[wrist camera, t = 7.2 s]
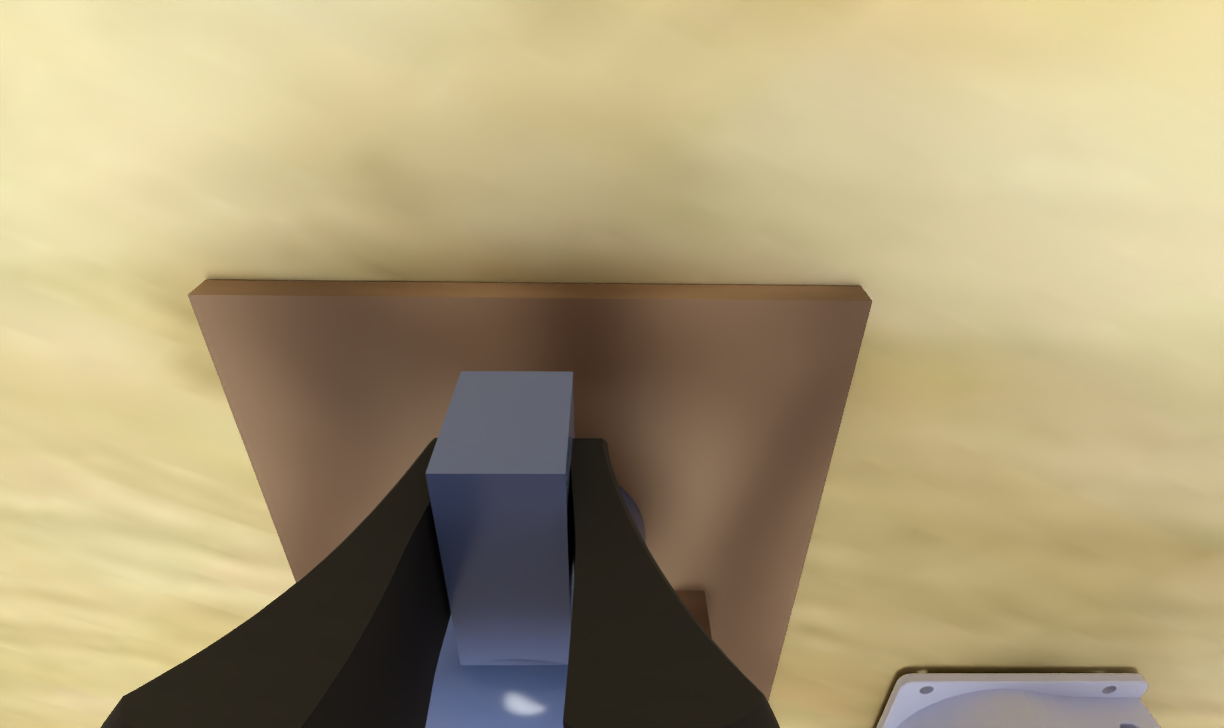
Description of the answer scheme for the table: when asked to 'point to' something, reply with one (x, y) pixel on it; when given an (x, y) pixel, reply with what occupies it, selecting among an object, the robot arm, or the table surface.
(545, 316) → the stand
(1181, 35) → the table surface
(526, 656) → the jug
